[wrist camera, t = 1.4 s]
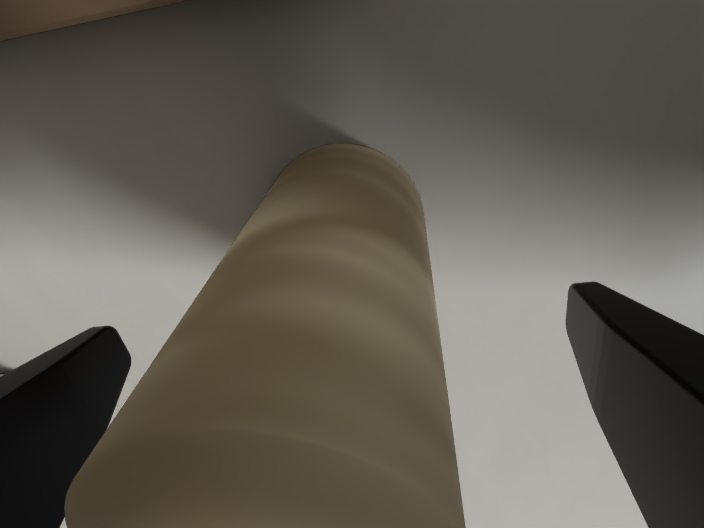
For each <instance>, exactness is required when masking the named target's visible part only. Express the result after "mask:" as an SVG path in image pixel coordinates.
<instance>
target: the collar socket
mask: <svg viewBox="0 0 704 528" xmlns="http://www.w3.org/2000/svg"><path fill="white" fill-rule="evenodd" d="M182 1H187V0H0V41H3V40H8V39H12V38H17V37H21V36H26V35H31V34H35V33H40V32H44V31H49V30H54V29H58V28H63V27H67V26H72V25H76V24H81V23H86V22H90V21H95V20H99V19H104V18H109V17H113V16H118V15H122V14H127V13H132V12H136V11H141V10H145V9H150V8H155V7H159V6H164V5H168V4H173V3H177V2H182Z"/></svg>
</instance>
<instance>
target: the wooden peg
mask: <svg viewBox="0 0 704 528" xmlns="http://www.w3.org/2000/svg"><path fill="white" fill-rule="evenodd" d="M64 511H65V521H66V525H67V527H68V528H465V521H464V513H463V506H462V498H461V491H460V483H459V475H458V468H457V460H456V453H455V445H454V438H453V430H452V423H451V415H450V408H449V400H448V393H447V385H446V378H445V370H444V362H443V355H442V347H441V340H440V332H439V325H438V317H437V310H436V302H435V295H434V287H433V280H432V272H431V265H430V257H429V249H428V242H427V234H426V227H425V219H424V212H423V206H422V201H421V198H420V195H419V192H418V190H417V188H416V186H415V184H414V183H413V181H412V180H411V178H410V177H409V175H408V174H407V173H406V172H405V171H404V170H403V169H402V168H401V167H400V166H399V165H398V164H397V163H396V162H394V161H393V160H392V159H390V158H389V157H387V156H386V155H384V154H382V153H380V152H378V151H376V150H374V149H370V148H367V147H364V146H360V145H354V144H329V145H325V146H320V147H317V148H314V149H312V150H309V151H307V152H305V153H303V154H301V155H300V156H298V157H297V158H295V159H294V160H293V161H291V162H290V163H289V164H288V165H287V166H286V167H285V168H284V169H283V171H282V172H281V173H280V175H279V176H278V177H277V179H276V180H275V182H274V183H273V185H272V186H271V188H270V189H269V191H268V192H267V194H266V195H265V197H264V198H263V200H262V201H261V203H260V204H259V206H258V207H257V208H256V210H255V211H254V213H253V214H252V216H251V217H250V219H249V220H248V222H247V223H246V225H245V226H244V228H243V229H242V231H241V232H240V234H239V235H238V237H237V238H236V240H235V241H234V242H233V244H232V245H231V247H230V248H229V250H228V251H227V253H226V254H225V256H224V257H223V259H222V260H221V262H220V263H219V265H218V266H217V268H216V269H215V271H214V272H213V273H212V275H211V276H210V278H209V279H208V281H207V282H206V284H205V285H204V287H203V288H202V290H201V291H200V293H199V294H198V296H197V297H196V299H195V300H194V302H193V303H192V305H191V306H190V307H189V309H188V310H187V312H186V313H185V315H184V316H183V318H182V319H181V321H180V322H179V324H178V325H177V327H176V328H175V330H174V331H173V333H172V334H171V336H170V337H169V339H168V340H167V341H166V343H165V344H164V346H163V347H162V349H161V350H160V352H159V353H158V355H157V356H156V358H155V359H154V361H153V362H152V364H151V365H150V367H149V368H148V370H147V371H146V373H145V374H144V375H143V377H142V378H141V380H140V381H139V383H138V384H137V386H136V387H135V389H134V390H133V392H132V393H131V395H130V396H129V398H128V399H127V401H126V402H125V404H124V405H123V407H122V408H121V409H120V411H119V412H118V414H117V415H116V417H115V418H114V420H113V421H112V423H111V424H110V426H109V427H108V429H107V430H106V432H105V433H104V435H103V436H102V438H101V439H100V441H99V442H98V443H97V445H96V446H95V448H94V449H93V451H92V452H91V454H90V455H89V457H88V458H87V460H86V461H85V463H84V464H83V466H82V467H81V469H80V470H79V472H78V473H77V475H76V476H75V477H74V479H73V480H72V483H71V485H70V487H69V489H68V491H67V494H66V499H65V506H64Z"/></svg>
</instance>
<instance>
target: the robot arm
mask: <svg viewBox="0 0 704 528" xmlns="http://www.w3.org/2000/svg"><path fill="white" fill-rule="evenodd" d="M566 329H567V334H568V337H569V340H570V343H571V346H572V349H573V352H574V355H575V358H576V361H577V364H578V367H579V370H580V373H581V376H582V379H583V382H584V385H585V388H586V391H587V394H588V397H589V400H590V403H591V405H592V408H593V411H594V413H595V415H596V417H597V420H598V422H599V424H600V426H601V428H602V430H603V433H604V435H605V437H606V439H607V441H608V443H609V445H610V447H611V449H612V452H613V454H614V456H615V458H616V460H617V462H618V464H619V466H620V468H621V470H622V473H623V475H624V477H625V479H626V481H627V483H628V485H629V487H630V489H631V492H632V494H633V496H634V498H635V500H636V502H637V504H638V506H639V508H640V511H641V513H642V515H643V517H644V519H645V521H646V523H647V525H648V527H649V528H704V335H702V334H700V333H698V332H696V331H694V330H692V329H690V328H688V327H686V326H684V325H682V324H680V323H678V322H676V321H674V320H672V319H670V318H668V317H666V316H664V315H662V314H660V313H658V312H656V311H654V310H652V309H650V308H648V307H646V306H644V305H642V304H640V303H638V302H636V301H634V300H632V299H630V298H628V297H626V296H624V295H622V294H620V293H618V292H616V291H614V290H612V289H610V288H608V287H606V286H604V285H602V284H600V283H598V282H584V283H574V284H572V285H571V286H570V288H569V290H568V300H567V312H566ZM130 366H131V356H130V353H129V351H128V350H127V348H126V346H125V344H124V343H123V341H122V339H121V337H120V335H119V334H118V332H117V330H116V329H115V328H113V327H111V326H100V327H92V328H90V329H88V330H86V331H84V332H82V333H80V334H78V335H76V336H75V337H73V338H71V339H69V340H67V341H65V342H64V343H62V344H60V345H58V346H56V347H54V348H52V349H51V350H49V351H47V352H45V353H43V354H41V355H40V356H38V357H36V358H34V359H32V360H30V361H29V362H27V363H25V364H23V365H21V366H19V367H17V368H16V369H14V370H12V371H10V372H8V373H6V374H5V375H3V376H1V377H0V528H60V526H61V524H62V522H63V520H64V517H65V511H64V506H65V499H66V494H67V491H68V489H69V487H70V485H71V483H72V480H73V479H74V477H75V476H76V475H77V473H78V472H79V470H80V469H81V467H82V466H83V464H84V463H85V461H86V460H87V458H88V457H89V455H90V454H91V452H92V451H93V449H94V448H95V446H96V445H97V443H98V442H99V441H100V439H101V438H102V436H103V435H104V433H105V432H106V430H107V428H108V425H109V423H110V420H111V417H112V415H113V412H114V409H115V407H116V404H117V401H118V399H119V396H120V393H121V391H122V388H123V385H124V383H125V380H126V377H127V375H128V372H129V369H130Z"/></svg>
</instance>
